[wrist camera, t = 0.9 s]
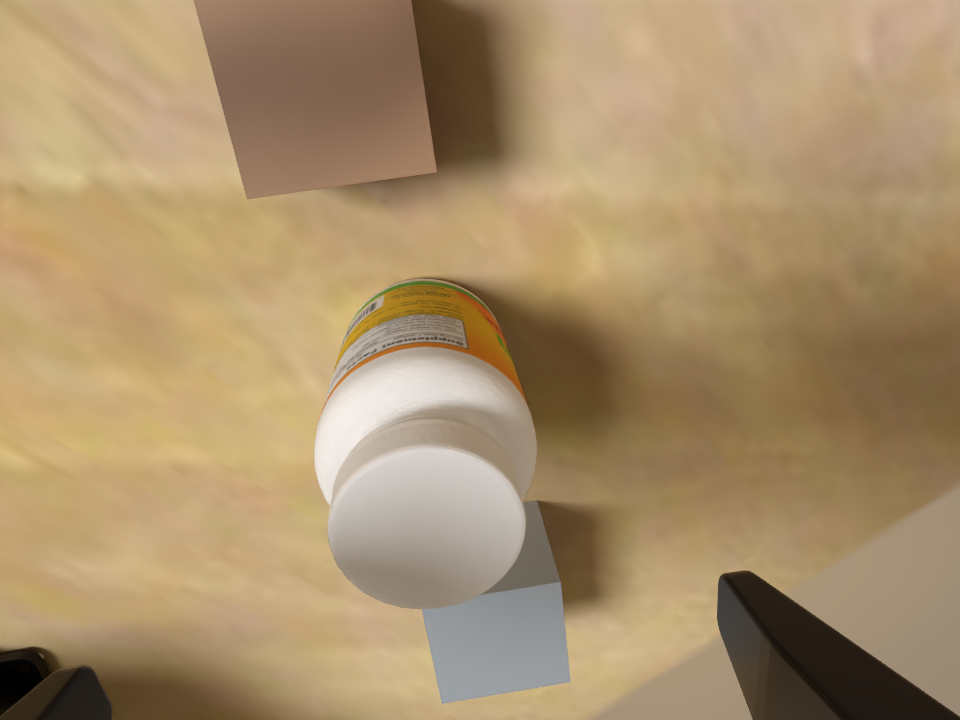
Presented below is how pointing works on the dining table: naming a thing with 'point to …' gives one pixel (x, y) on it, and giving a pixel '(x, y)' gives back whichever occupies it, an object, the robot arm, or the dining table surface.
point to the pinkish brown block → (319, 91)
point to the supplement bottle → (425, 448)
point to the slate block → (504, 628)
